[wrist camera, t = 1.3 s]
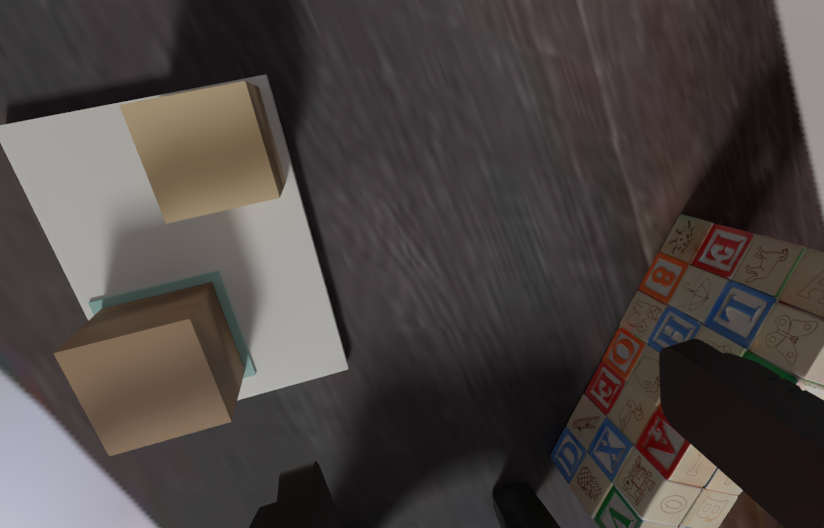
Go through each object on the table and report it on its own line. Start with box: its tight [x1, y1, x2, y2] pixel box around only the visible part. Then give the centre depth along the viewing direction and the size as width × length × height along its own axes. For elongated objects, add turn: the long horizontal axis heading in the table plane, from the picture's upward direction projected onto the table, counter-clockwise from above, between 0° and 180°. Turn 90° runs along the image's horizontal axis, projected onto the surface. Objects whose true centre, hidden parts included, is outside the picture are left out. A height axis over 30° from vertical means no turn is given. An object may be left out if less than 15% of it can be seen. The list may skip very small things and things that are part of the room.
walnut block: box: [54, 282, 245, 456], centre depth 24 cm, size 6×6×5 cm
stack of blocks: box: [550, 214, 824, 528], centre depth 30 cm, size 21×6×12 cm, turn 158°
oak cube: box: [119, 81, 286, 224], centre depth 22 cm, size 5×5×5 cm
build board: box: [0, 75, 348, 400], centre depth 26 cm, size 18×13×1 cm
